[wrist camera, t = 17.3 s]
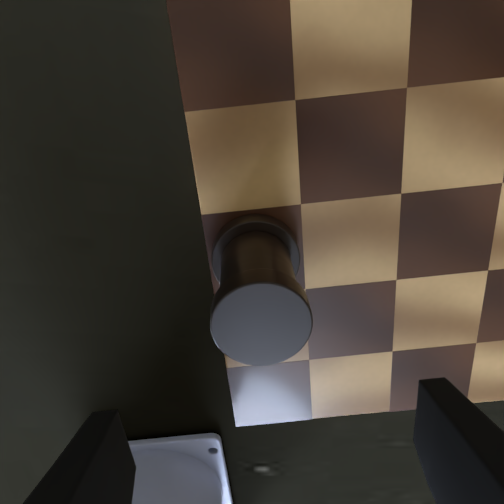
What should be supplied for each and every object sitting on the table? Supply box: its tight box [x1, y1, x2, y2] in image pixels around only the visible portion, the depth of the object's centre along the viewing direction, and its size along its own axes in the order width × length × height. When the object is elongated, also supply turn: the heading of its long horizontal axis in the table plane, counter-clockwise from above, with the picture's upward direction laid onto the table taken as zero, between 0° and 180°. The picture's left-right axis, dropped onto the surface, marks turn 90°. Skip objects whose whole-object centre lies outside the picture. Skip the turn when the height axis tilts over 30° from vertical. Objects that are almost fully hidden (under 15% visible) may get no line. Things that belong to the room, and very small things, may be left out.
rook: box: [210, 214, 313, 366], centre depth 17 cm, size 4×4×5 cm
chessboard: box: [166, 0, 504, 427], centre depth 19 cm, size 20×16×1 cm
